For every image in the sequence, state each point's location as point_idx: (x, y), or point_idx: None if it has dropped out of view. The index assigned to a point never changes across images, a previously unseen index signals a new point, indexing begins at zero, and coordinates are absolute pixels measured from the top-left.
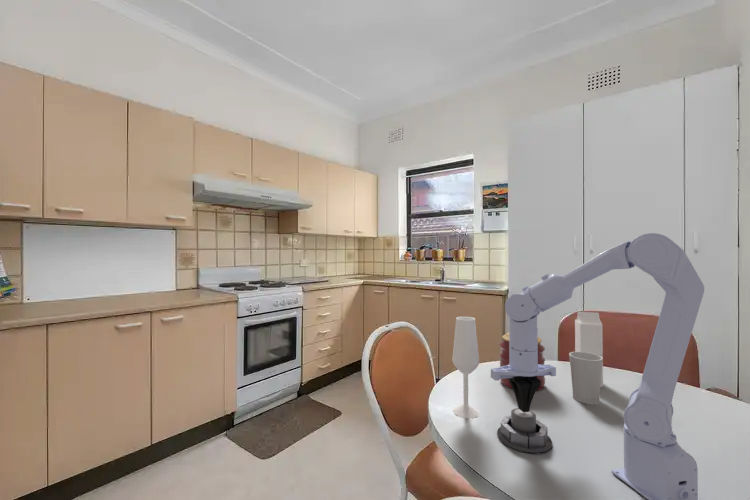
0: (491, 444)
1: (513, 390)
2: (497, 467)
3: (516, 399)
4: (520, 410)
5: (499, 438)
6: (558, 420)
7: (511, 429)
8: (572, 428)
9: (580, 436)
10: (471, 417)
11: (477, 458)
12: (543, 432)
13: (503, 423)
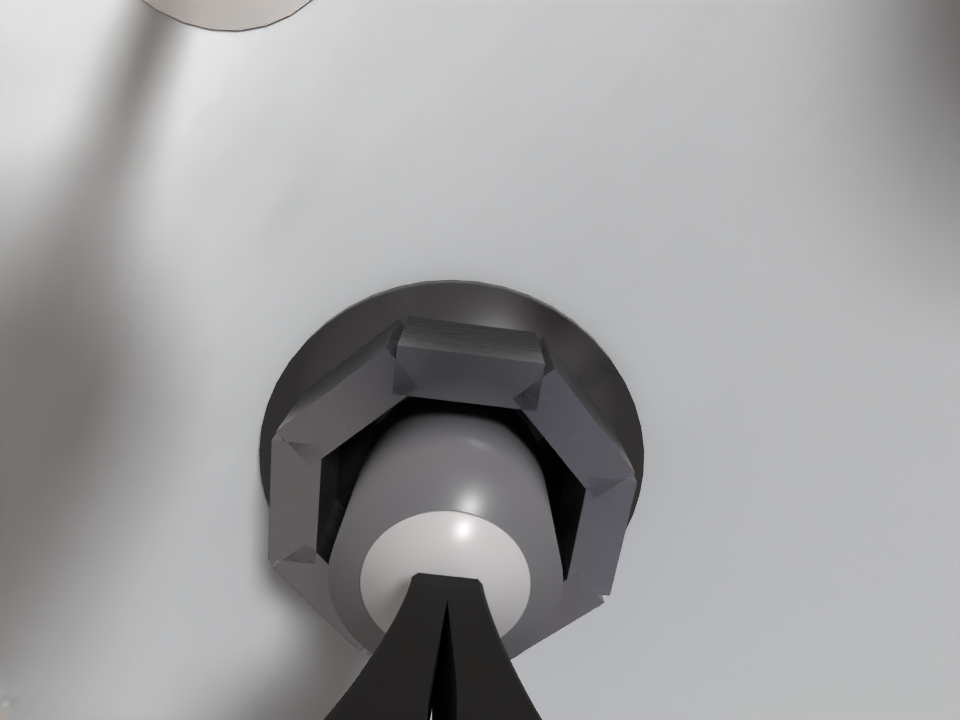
0: (179, 450)
1: (335, 708)
2: (97, 638)
3: (390, 627)
4: (458, 536)
5: (262, 430)
6: (954, 329)
7: (301, 543)
8: (924, 455)
9: (862, 546)
10: (207, 24)
11: (10, 545)
12: None
13: (292, 450)
